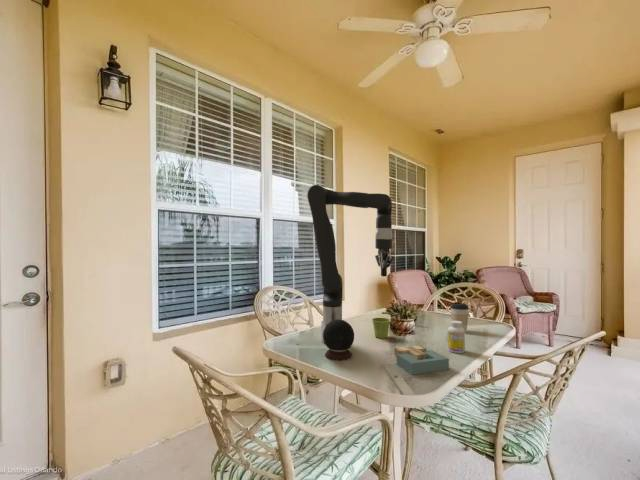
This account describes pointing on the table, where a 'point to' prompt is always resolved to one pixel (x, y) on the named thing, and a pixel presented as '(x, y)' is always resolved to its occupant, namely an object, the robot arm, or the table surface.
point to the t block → (411, 352)
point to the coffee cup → (460, 314)
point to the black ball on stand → (338, 340)
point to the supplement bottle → (456, 337)
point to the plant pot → (381, 327)
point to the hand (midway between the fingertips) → (383, 276)
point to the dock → (422, 363)
